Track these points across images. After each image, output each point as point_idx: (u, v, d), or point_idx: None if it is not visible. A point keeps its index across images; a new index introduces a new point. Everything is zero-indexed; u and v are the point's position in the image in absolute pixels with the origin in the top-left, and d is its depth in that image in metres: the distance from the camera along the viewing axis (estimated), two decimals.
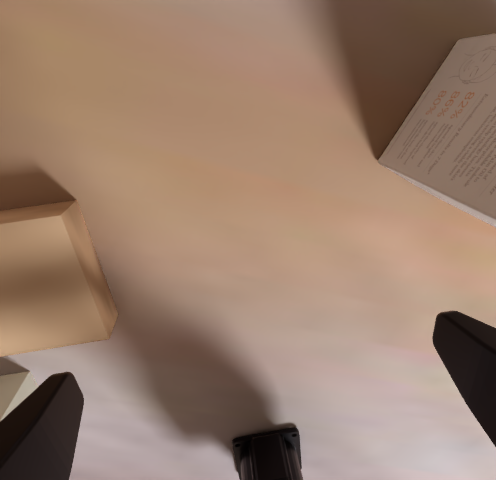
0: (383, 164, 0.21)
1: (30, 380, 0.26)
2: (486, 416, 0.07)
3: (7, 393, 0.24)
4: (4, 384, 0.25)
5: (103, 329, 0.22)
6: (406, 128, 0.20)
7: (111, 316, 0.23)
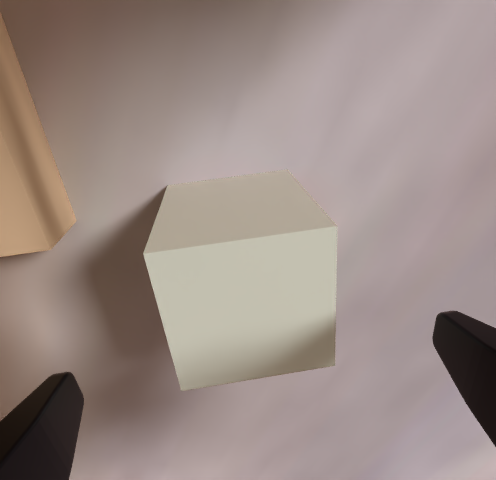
0: None
1: (181, 186, 0.13)
2: (486, 416, 0.07)
3: None
4: None
5: None
6: None
7: None
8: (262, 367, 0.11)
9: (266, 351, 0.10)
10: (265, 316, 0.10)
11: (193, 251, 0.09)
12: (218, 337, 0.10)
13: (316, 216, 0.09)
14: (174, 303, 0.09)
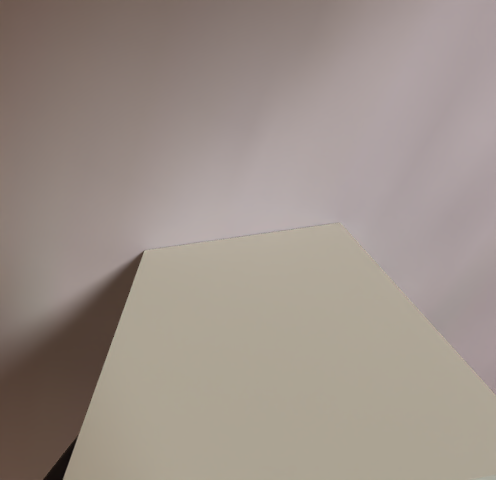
0: None
1: (166, 255, 0.08)
2: None
3: None
4: None
5: None
6: None
7: None
8: None
9: None
10: None
11: None
12: None
13: (470, 399, 0.04)
14: None
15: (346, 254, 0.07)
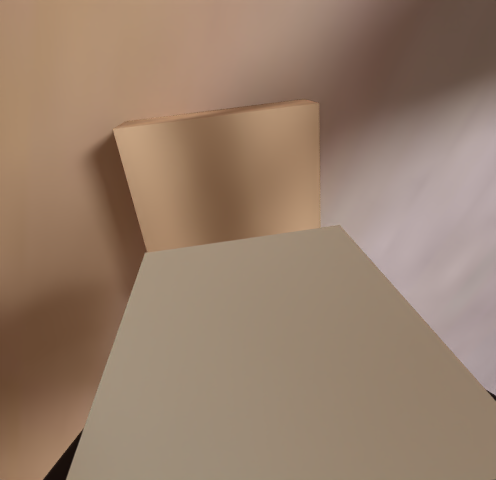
0: None
1: (166, 258, 0.08)
2: None
3: None
4: None
5: (300, 108, 0.15)
6: None
7: (294, 102, 0.16)
8: None
9: None
10: None
11: None
12: None
13: (468, 403, 0.04)
14: None
15: (346, 257, 0.07)
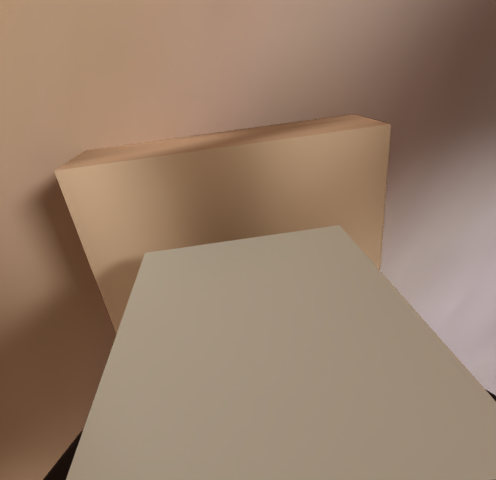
0: None
1: (166, 258, 0.08)
2: None
3: None
4: None
5: (360, 133, 0.09)
6: None
7: (344, 121, 0.10)
8: None
9: None
10: None
11: None
12: None
13: (468, 403, 0.04)
14: None
15: (346, 257, 0.07)
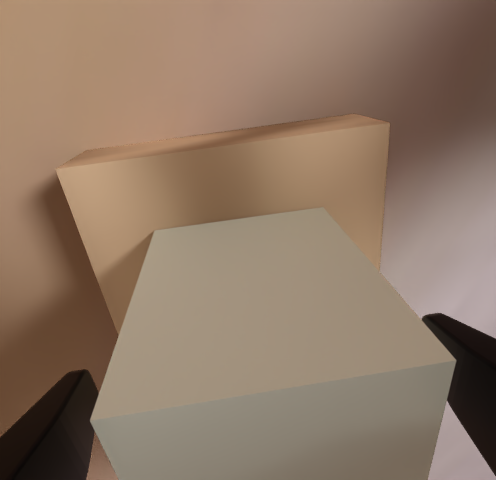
0: None
1: (173, 234, 0.09)
2: (469, 419, 0.07)
3: None
4: None
5: (360, 132, 0.09)
6: None
7: (343, 120, 0.10)
8: None
9: None
10: None
11: (186, 411, 0.05)
12: None
13: (404, 325, 0.05)
14: None
15: (325, 231, 0.09)
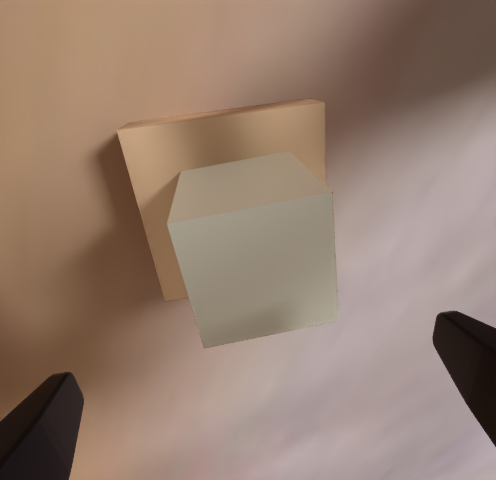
0: None
1: (193, 171, 0.15)
2: (486, 416, 0.07)
3: None
4: None
5: (306, 108, 0.15)
6: None
7: (299, 101, 0.16)
8: (274, 324, 0.12)
9: (277, 309, 0.12)
10: (274, 277, 0.11)
11: (209, 220, 0.10)
12: (234, 297, 0.11)
13: (314, 186, 0.11)
14: (194, 267, 0.11)
15: (286, 160, 0.14)
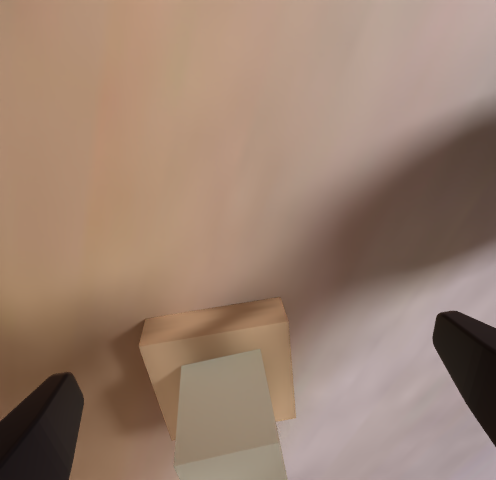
0: None
1: (190, 369, 0.20)
2: (486, 416, 0.07)
3: None
4: None
5: (275, 325, 0.20)
6: None
7: (272, 307, 0.22)
8: None
9: None
10: None
11: (200, 462, 0.16)
12: None
13: (270, 428, 0.16)
14: None
15: (257, 370, 0.20)
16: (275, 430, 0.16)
